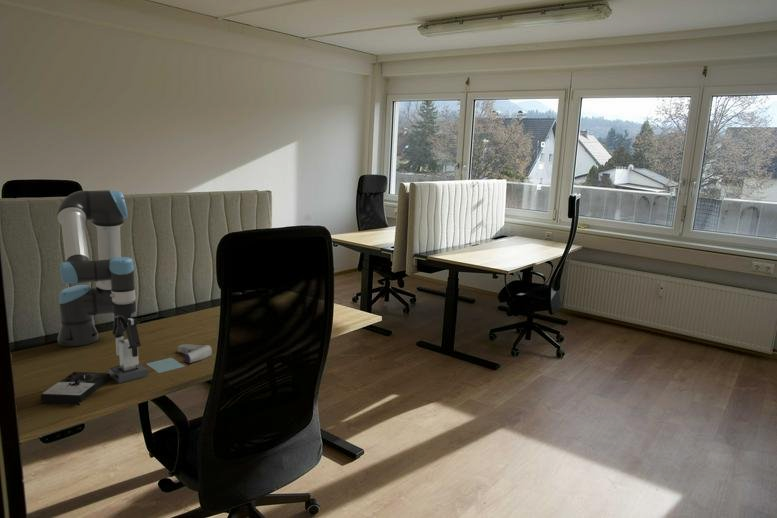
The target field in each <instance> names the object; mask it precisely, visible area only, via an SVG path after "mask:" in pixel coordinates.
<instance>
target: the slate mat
mask: <svg viewBox="0 0 777 518" xmlns="http://www.w3.org/2000/svg"><path fill="white" fill-rule="evenodd" d="M146 365H147V366H148V367H150V368H151V369H152V370H154V371H155V372H157V373H158V374H161V373H165V372H169V371H172V370H173V371H174V370H177V369H181V368H184V367H186V366H185V365H184V364H183V363H182V362H180V361H178V360H176V359H175V358H173V357H168V358H164V359H159V360H155V361H153V362H152V361H151V362H147V363H146Z"/></svg>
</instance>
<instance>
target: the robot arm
mask: <svg viewBox="0 0 777 518" xmlns="http://www.w3.org/2000/svg"><path fill="white" fill-rule="evenodd" d="M56 215H57V221H58V222H59V224H60V225H61V231H62V243H63V251H64V259H65V262H61V263H60V264H59V270H60V272H59V273H60V280H61V281H60V282H62V284H66V285H67V284H77V285H73V286H69V287H66V288H63V289H62V290H61V291H60V292H59V295H58V297H59V299H58V304H59V313H60V329H59V332H58V336H57V345H59V346H62V347H79V346H80V347H81V346H87V345H90V344H93V343H95V342H97V341H98V340H99V332H98V330H97V328H96V326H95V323H94V322H93V317H94V316H100V315H111V314H113V316H114V317H113V327H112V335H113V336H114V339H115V351H116V352H115V353H116V356H119V343H118V341H119V340H124V339H125V335H126V339H128V341H129V345H130V346H129V347H128V349H129V355H130V366H133V365H137V364H139V363H140V361H139V358H140V357H139V347H140V348H141V346H142V345H141V341H140V337H139V332H138V327H137V326H138V325H137V319H136V318H133V317H132V314H134V313H136V311H137V303H136V287H135V266H134V260H133V259H132V258H131V257H127V256H122V245H121V244H122V243H121V241H122V240H121V227H122V226H123V225H124V223H125V220H127V219H128V218H129V217H128V215H129V214H128V207H127V205H126V201H125V196H124V194H123V192H121V190H120V191H119V190H111V189H107V190H105V189H104V190H103V189H102V190H78V191H74V192H72V193H70V194H69V195H67V196H65V198H64V199H63V200H62V201H61V203H59V206H58V208H57V214H56ZM86 221H92V225H93V226H95V227H96V234H97V254H98V260H96V259H95V260H90V255H89V249H88V241H87V235H86V228H85V222H86ZM94 282H96V283H95V287H93V288H92V287H91V286H90V285H89V284H84V283H94ZM82 283H83V284H82ZM124 332H125V333H124Z"/></svg>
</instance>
